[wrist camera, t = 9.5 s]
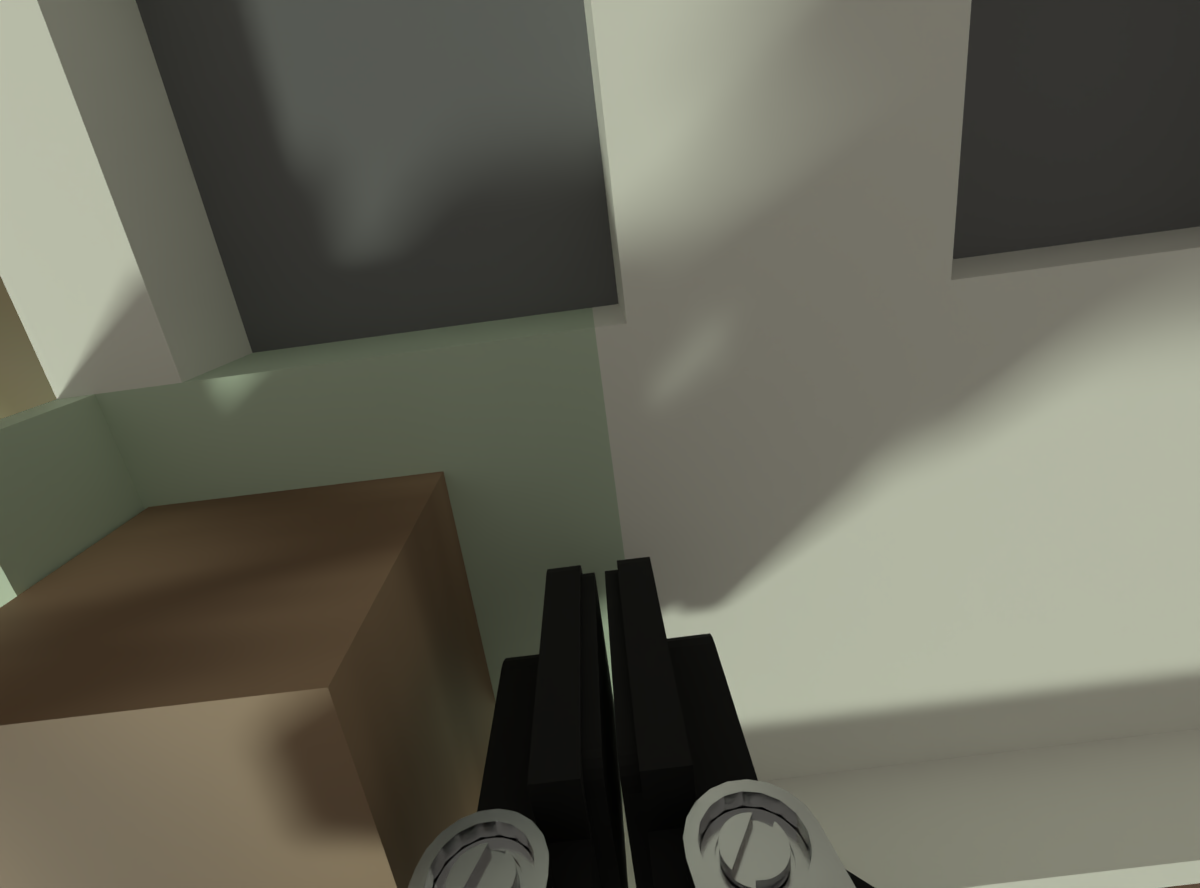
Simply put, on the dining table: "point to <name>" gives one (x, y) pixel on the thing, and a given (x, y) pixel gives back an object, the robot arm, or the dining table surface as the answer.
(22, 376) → the dining table surface
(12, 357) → the dining table surface
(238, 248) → the trap board
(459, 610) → the walnut block
